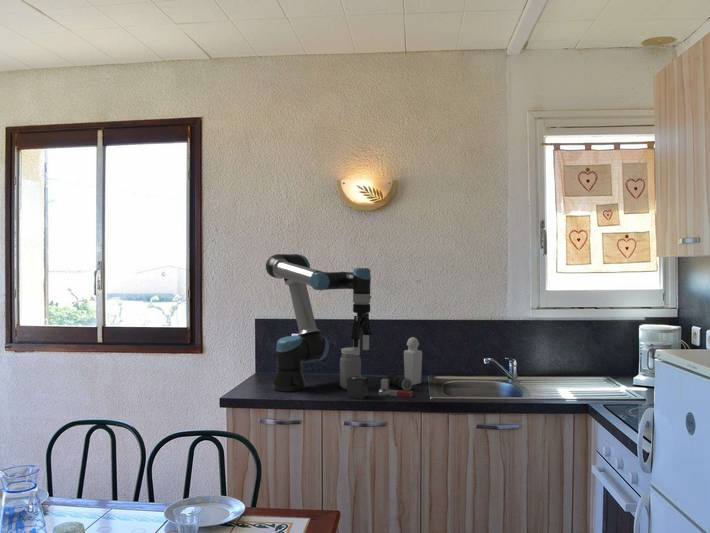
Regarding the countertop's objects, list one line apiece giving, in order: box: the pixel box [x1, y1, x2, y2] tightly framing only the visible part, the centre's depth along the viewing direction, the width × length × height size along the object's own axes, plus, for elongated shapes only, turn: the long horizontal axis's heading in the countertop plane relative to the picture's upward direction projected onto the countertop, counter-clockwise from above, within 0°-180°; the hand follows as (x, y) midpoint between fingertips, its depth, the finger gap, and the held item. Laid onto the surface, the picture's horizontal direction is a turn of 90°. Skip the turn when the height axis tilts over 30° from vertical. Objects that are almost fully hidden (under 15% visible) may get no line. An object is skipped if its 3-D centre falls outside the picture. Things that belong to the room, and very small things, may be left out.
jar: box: [339, 346, 362, 390], centre depth 251 cm, size 10×10×18 cm
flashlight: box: [386, 373, 413, 391], centre depth 252 cm, size 15×5×5 cm, turn 27°
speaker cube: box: [346, 375, 369, 400], centre depth 234 cm, size 7×7×8 cm
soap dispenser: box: [403, 336, 423, 386], centre depth 260 cm, size 6×6×22 cm
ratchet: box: [377, 378, 414, 399], centre depth 236 cm, size 15×6×6 cm, turn 70°
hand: (361, 352), depth 235 cm, fingers open, 13 cm apart
